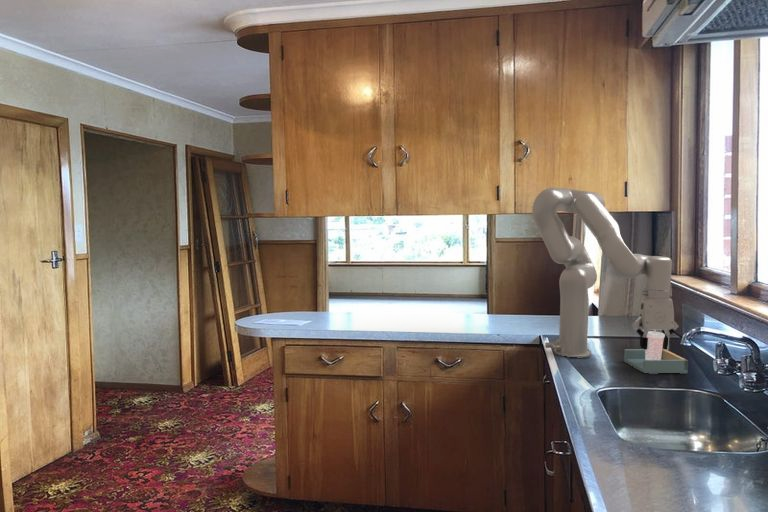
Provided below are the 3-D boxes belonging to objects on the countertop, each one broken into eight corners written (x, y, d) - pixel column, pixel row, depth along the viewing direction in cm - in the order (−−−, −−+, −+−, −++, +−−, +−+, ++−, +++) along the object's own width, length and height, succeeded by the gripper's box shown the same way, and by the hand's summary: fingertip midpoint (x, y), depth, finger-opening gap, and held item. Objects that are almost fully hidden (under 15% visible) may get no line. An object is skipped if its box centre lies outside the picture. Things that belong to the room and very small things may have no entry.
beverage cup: (639, 359, 193) (641, 317, 192) (649, 356, 197) (651, 315, 195) (656, 364, 188) (659, 321, 187) (666, 361, 192) (669, 319, 190)
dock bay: (644, 373, 185) (645, 361, 185) (623, 361, 199) (624, 349, 199) (687, 373, 186) (688, 360, 186) (663, 360, 200) (664, 348, 200)
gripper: (637, 296, 186) (633, 351, 188) (689, 296, 187) (685, 351, 189) (625, 292, 193) (622, 345, 195) (676, 292, 195) (672, 345, 197)
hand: (653, 348), depth 192 cm, fingers closed on beverage cup, 6 cm apart
